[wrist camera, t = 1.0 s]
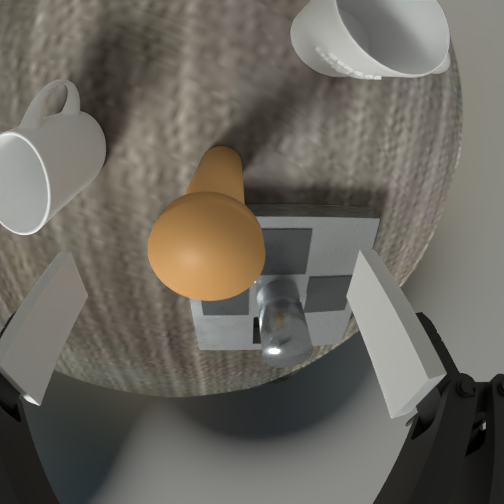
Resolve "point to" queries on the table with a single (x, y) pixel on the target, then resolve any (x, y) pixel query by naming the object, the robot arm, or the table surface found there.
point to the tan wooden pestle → (209, 234)
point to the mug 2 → (372, 38)
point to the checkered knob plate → (292, 284)
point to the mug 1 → (47, 161)
